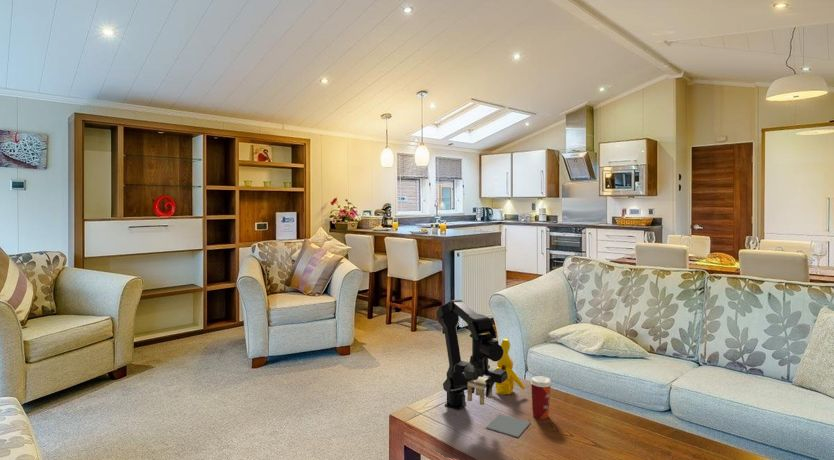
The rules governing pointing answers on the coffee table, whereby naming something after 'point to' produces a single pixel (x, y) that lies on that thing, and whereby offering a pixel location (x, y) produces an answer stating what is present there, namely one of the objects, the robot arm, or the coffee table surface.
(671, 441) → the coffee table surface
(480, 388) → the stool
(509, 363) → the figure statuette
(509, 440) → the coffee table surface
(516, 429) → the felt pad
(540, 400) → the paper cup
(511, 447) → the coffee table surface
